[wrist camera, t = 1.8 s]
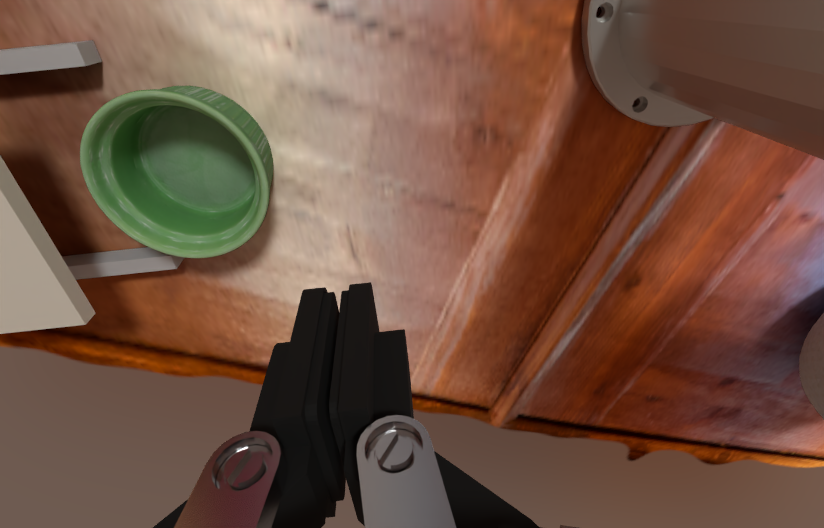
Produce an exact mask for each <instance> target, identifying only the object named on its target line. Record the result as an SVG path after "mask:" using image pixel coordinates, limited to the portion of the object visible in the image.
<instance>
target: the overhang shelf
mask: <svg viewBox="0 0 824 528" xmlns="http://www.w3.org/2000/svg"><path fill="white" fill-rule="evenodd" d="M99 62H102V60H101V58H100V56H99V53H98V51H97V49H96V46H95V44H94V41H93V40H92V41H82V42H72V43H62V44H52V45H42V46H32V47H23V48H13V49H3V50H0V75H3V74H12V73H22V72H32V71H42V70H52V69H62V68H72V67H81V66H88V65H92V64H95V63H99ZM183 259H184V257H178V256H173V255H169V254H165V253H162V252H160V251H157V250H154V249H152V248H150V247H145V248H136V249H126V250H117V251H108V252H98V253H89V254H79V255H70V256H61V255H60V253H59V252H58V250H57V248H56V247H55V245H54V243H53V242H52V240H51V238H50V237H49V235H48V233H47V232H46V230H45V228H44V227H43V225H42V223H41V222H40V220H39V218H38V217H37V215H36V214H35V212H34V210H33V209H32V207H31V205H30V204H29V202H28V200H27V199H26V197H25V195H24V194H23V192H22V190H21V189H20V187H19V185H18V184H17V182H16V181H15V179H14V177H13V176H12V174H11V172H10V171H9V169H8V167H7V166H6V164H5V162H4V161H3V159H2V157H1V156H0V334H4V333H13V332H22V331H32V330H41V329H50V328H59V327H69V326H78V325H86V324H87V323H88V322H89V320H90V319H91V318H92V317H93V316H94V315H95V311H94V309H93V308H92V306H91V304H90V303H89V301H88V299H87V298H86V296H85V294H84V293H83V291H82V289H81V288H80V286H79V285H78V283H77V281H76V280H77V279H87V278H96V277H105V276H115V275H124V274H133V273H143V272H152V271H161V270H171V269H177V268H178V266H179V265H180V264H181V262H182V261H183Z"/></svg>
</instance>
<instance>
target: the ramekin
mask: <svg viewBox="0 0 824 528" xmlns="http://www.w3.org/2000/svg"><path fill="white" fill-rule="evenodd" d="M80 164H81V169H82V172H83V176H84V179H85V182H86V184H87V187H88V189H89V191H90V193H91V195H92V197H93V198H94V200H95V201H96V203H97V204H98V206H99V207H100V208H101V210H102V211H103V212H104V213H105V215H106V216H107V217H108V218H109V219H110V220H111V221H112V222H113V223H114V224H115V225H116V226H117V227H118V228H120V229H121V230H122V231H123V232H125V233H126V234H127V235H129V236H130V237H132V238H133V239H135V240H136V241H138V242H140V243H142V244H144V245H146V246H148V247H150V248H152V249H154V250H157V251H160V252H162V253H165V254H169V255H173V256H178V257H184V258H209V257H215V256H219V255H223V254H226V253H228V252H231V251H233V250H235V249H237V248H239V247H240V246H242V245H243V244H245V243H246V242H247V241H248V240H250V239H251V238H252V237H253V235H254V234H255V233H256V232H257V231H258V229H259V228H260V226H261V224H262V222H263V221H264V218H265V215H266V213H267V209H268V204H269V196H270V187H271V182H272V178H273V158H272V154H271V149H270V146H269V143H268V140H267V138H266V136H265V134H264V133H263V131H262V129H261V128H260V126H259V125H258V123H257V122H256V121H255V120H254V119H253V117H252V116H251V115H250V114H249V113H248V112H247V111H246V110H245V109H243V108H242V107H241V106H240V105H238V104H237V103H236V102H234V101H233V100H231V99H229V98H227V97H226V96H224V95H221V94H219V93H217V92H214V91H212V90H208V89H205V88H201V87H194V86H173V87H167V88H162V89H159V90H157V89H154V90H140V91H134V92H130V93H127V94H124V95H121V96H119V97H116V98H114V99H113V100H111V101H109V102H108V103H106V104H105V105H104V106H102V107H101V108H100V109H99V110H98V111H97V112H96V113H95V114H94V115H93V116H92V118H91V119H90V121H89V123H88V124H87V126H86V128H85V130H84V133H83V136H82V140H81V146H80Z"/></svg>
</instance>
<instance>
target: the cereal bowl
mask: <svg viewBox="0 0 824 528" xmlns="http://www.w3.org/2000/svg"><path fill="white" fill-rule="evenodd" d="M799 358H800V360H799V374H800V380H801V384H802V387H803V389H804V391H805V394H806V396H807V397H808V398H809V401H810V403H811V404H812V405H813V406H814V408H815V409H816V411H817V412H818V413H819V414H820V415H821V416H822V418H823V419H824V313H823V314H822V315H821V316H820V318H819V319H818V320H817V322H816V323H815V324H814V325H813V326H812V328H811V330H810V332H809V333H808V334H807V337H806V339H805V340H804V344H803V346H802V348H801V353H800V356H799Z"/></svg>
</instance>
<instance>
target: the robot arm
mask: <svg viewBox="0 0 824 528" xmlns="http://www.w3.org/2000/svg"><path fill="white" fill-rule="evenodd" d="M599 7H601V10H602V12H601V14H600V16H599V17H596V12H597V9H598V8H599ZM582 47H583V52H584V57H585V62H586V67H587V69H588V71H589V74H590V76H591V78H592V81H593V83H594V85H595V87H596V88H597V89H598V91H599V92H600V93H601V95H602V96H603V97H604V99H605V100H606V101H607V102H608V103H609V104H611V105H612V106H613V107H614V108H615V109H617V110H618V111H619V112H621V113H623V114H624V115H626V116H628V117H630V118H632V119H634V120H637V121H640V122H643V123H646V124H649V125H653V126H663V127H677V126H687V125H693V124H696V123H700V122H703V121H707V120H710V119H713V118H716V119H719V120H721V121H724V122H727V123H729V124H732V125H734V126H737V127H740V128H742V129H745V130H747V131H750V132H753V133H755V134H758V135H760V136H763V137H766V138H768V139H771V140H773V141H776V142H779V143H781V144H784V145H786V146H789V147H792V148H794V149H797V150H799V151H802V152H805V153H807V154H810V155H812V156H815V157H817V158H820V159H823V160H824V0H584V7H583V13H582ZM635 100H636V102H635V103H634V101H635ZM633 103H634V104H633ZM346 480H347V483H348V486H349V490H350V494H351V497H352V501H353V504H354V507H355V511H356V515H357V518H358V520H359V521H360V522H361V523H362V524H363V525H364V526H365V528H541V527H538V526H537V525H536V524H535V523H534V522H533V521H532V520H531V519H530V518H528V517H527V516H525V515H524V514H522V513H521V512H520V511H518V510H517V509H515V508H514V507H513V506H511V505H510V504H508V503H507V502H505V501H504V500H503V499H501V498H500V497H498V496H497V495H496V494H494V493H493V492H491V491H490V490H489V489H487V488H486V487H484V486H483V485H481V484H480V483H478V482H477V481H476V480H474V479H473V478H472V477H470V476H469V475H467V474H466V473H464V472H463V471H462V470H460V469H459V468H457V467H456V466H454V465H453V464H452V463H450V462H449V461H447V460H446V459H445V458H443V457H442V456H440V455H439V454H438V453H436V452H435V451H434V449H433V446H432V443H431V439H430V436H429V434H428V432H427V430H426V428H425V427H424V426H423V425H422V424H421V423H420V422H418V421H417V420H414V417H413V405H412V393H411V381H410V371H409V361H408V353H407V344H406V336H405V330H404V329H403V330H394V331H385V332H379V326H378V320H377V314H376V308H375V302H374V296H373V290H372V285H371V283H361V284H352V285H350V286H349V290H348V291H342V294H341V303H340V312H339V310H338V305H337V301H336V297H335V293H334V292H330V293H327V290H326V288H315V289H306V290H303V292H302V296H301V300H300V304H299V308H298V312H297V316H296V320H295V324H294V328H293V332H292V336H291V340H290V342H285V343H277V344H276V345H275V346H274V349H273V352H272V355H271V358H270V362H269V365H268V369H267V372H266V376H265V379H264V383H263V386H262V390H261V393H260V397H259V400H258V404H257V407H256V411H255V414H254V418H253V421H252V425H251V428H250V432H244V433H242V434H239V435H237V436H234V437H232V438H231V439H229V440H228V441H226V442H224V443H223V444H222V445H221V446H220V447H219V448H218V449H217V450H216V451H215V452H214V453H213V454H212V456H211V457H210V459H209V460H208V462H207V463H206V465H205V468H204V469H203V471H202V473H201V475H200V477H199V480H198V481H197V483H196V485H195V487H194V489H193V491H192V493H191V495H190V497H189V499H188V500H187V501H185V502H184V503H183V504H182V505H180V506H179V507H178V508H177V509H175V510H174V511H173V512H172V513H170V514H169V515H168V516H167V517H165V518H164V519H163V520H162V521H160V522H159V523H158V524H157V525H155V526H154V527H153V528H321V527H322V526H323V525H324V524H325V518H326V517H335V510H336V501H340V500H343V499H344V495H345V482H346ZM560 528H576V527H569V526H562V525H561V526H560Z"/></svg>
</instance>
